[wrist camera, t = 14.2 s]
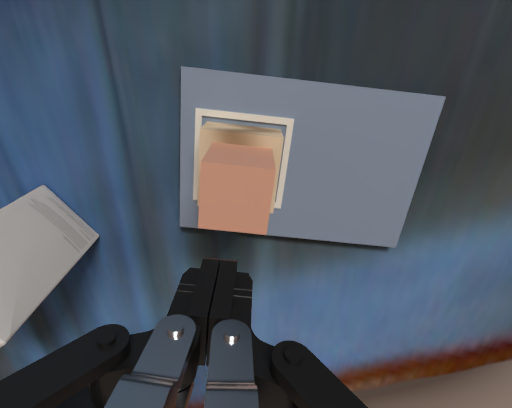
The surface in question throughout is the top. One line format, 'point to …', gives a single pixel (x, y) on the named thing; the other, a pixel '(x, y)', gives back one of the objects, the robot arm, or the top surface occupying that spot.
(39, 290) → the skincare box
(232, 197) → the terracotta block
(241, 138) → the beech base block
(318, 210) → the board
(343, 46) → the top surface
